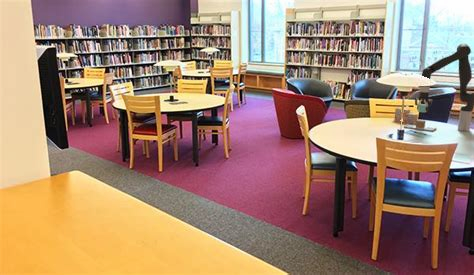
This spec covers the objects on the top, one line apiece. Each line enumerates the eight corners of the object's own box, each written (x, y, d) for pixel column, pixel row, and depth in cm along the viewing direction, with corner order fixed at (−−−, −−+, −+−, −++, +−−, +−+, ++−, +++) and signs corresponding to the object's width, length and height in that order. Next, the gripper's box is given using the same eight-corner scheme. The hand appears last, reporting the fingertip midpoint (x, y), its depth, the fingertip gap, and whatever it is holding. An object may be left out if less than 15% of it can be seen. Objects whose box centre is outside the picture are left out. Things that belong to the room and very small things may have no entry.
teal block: (419, 110, 362) (420, 104, 361) (426, 111, 359) (427, 104, 358) (417, 111, 358) (418, 104, 356) (424, 112, 354) (425, 105, 353)
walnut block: (417, 126, 366) (418, 119, 365) (424, 127, 362) (425, 120, 361) (415, 127, 361) (416, 120, 360) (422, 128, 358) (423, 121, 356)
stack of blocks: (417, 124, 383) (418, 111, 380) (412, 124, 380) (414, 111, 377) (398, 120, 401) (399, 107, 398) (394, 120, 398) (395, 107, 396)
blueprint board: (407, 125, 374) (408, 124, 374) (436, 129, 360) (436, 127, 359) (403, 127, 365) (403, 126, 364) (432, 131, 350) (433, 130, 350)
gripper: (434, 91, 353) (432, 111, 357) (417, 90, 362) (414, 109, 365) (432, 92, 347) (429, 112, 351) (414, 91, 356) (412, 110, 360)
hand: (422, 110), depth 358 cm, fingers closed on teal block, 6 cm apart
